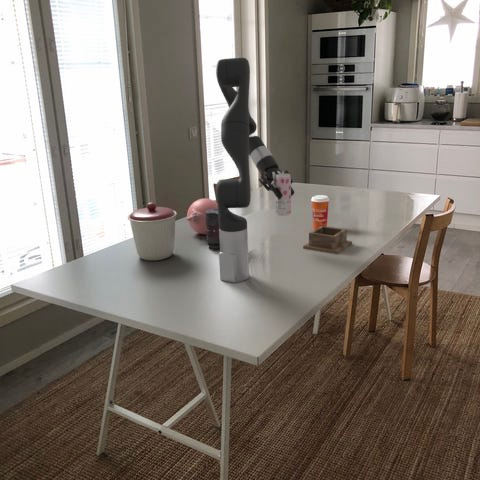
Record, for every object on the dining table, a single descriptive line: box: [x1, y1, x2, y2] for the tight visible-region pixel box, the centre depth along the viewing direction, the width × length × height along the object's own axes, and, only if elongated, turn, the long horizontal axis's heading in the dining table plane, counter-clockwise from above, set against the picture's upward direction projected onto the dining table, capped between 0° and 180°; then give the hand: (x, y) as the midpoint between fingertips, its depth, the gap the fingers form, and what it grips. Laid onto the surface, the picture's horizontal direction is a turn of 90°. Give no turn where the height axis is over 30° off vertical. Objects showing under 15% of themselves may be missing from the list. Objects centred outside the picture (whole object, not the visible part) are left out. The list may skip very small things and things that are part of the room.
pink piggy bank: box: [186, 198, 218, 236], centre depth 220 cm, size 15×20×15 cm
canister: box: [127, 201, 178, 261], centre depth 195 cm, size 18×18×21 cm
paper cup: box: [310, 194, 330, 230], centre depth 223 cm, size 8×8×14 cm
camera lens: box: [205, 209, 220, 252], centre depth 203 cm, size 8×8×15 cm
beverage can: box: [275, 173, 292, 217], centre depth 194 cm, size 6×6×15 cm
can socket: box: [302, 226, 353, 255], centre depth 201 cm, size 14×14×6 cm
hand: (286, 196), depth 193 cm, fingers closed on beverage can, 5 cm apart
